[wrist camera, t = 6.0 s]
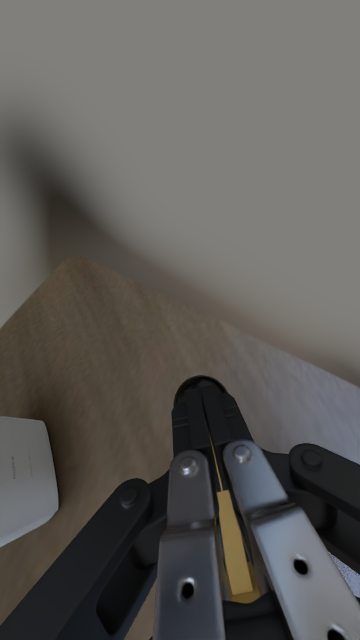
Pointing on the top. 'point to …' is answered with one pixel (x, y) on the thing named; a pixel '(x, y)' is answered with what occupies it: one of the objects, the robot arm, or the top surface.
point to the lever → (227, 518)
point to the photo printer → (25, 477)
